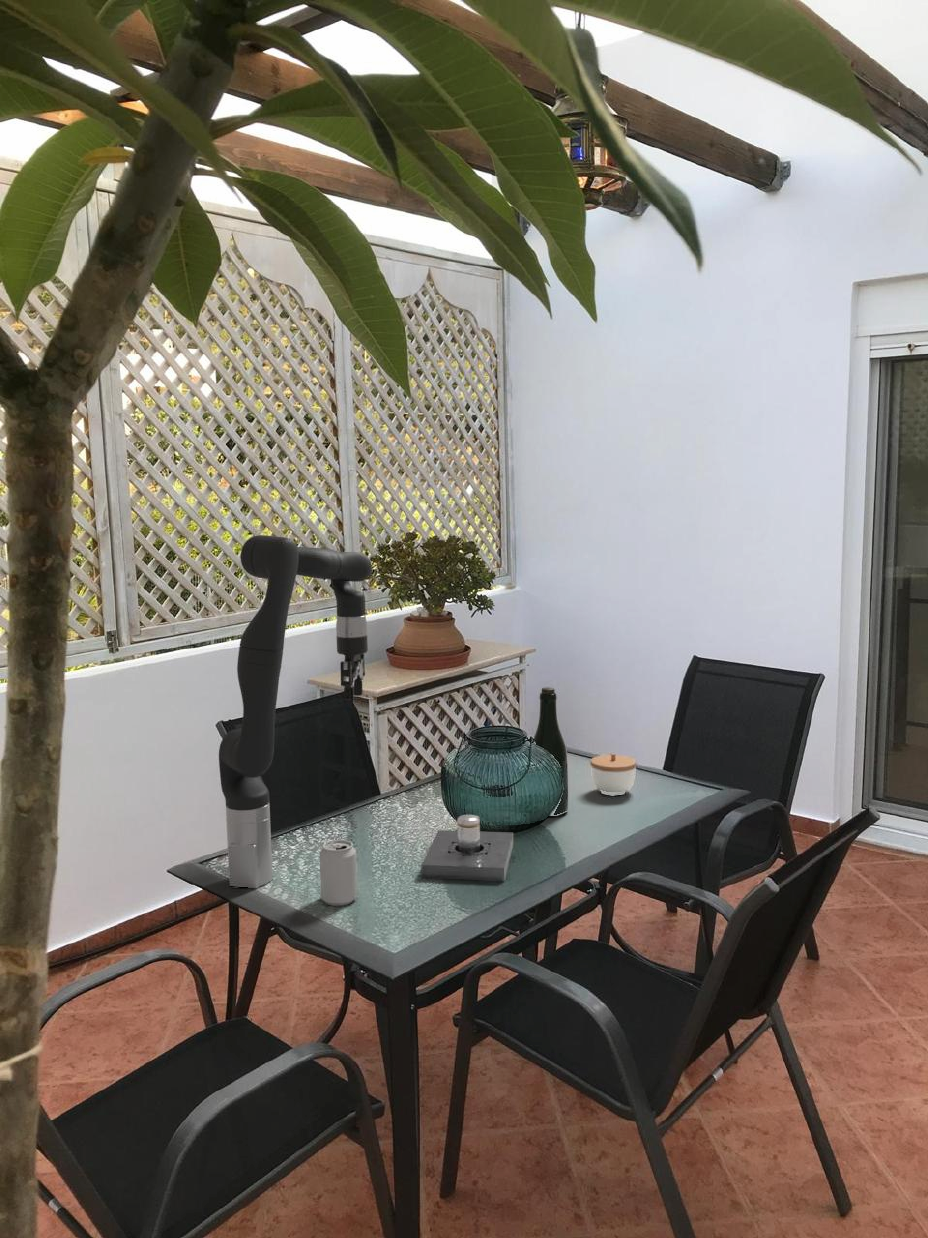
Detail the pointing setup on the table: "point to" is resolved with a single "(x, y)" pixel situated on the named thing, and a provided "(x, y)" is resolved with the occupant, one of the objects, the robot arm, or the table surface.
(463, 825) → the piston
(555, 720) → the dark wine bottle
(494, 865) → the plate
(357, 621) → the robot arm
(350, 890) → the can
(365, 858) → the table surface
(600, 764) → the lidded bowl
